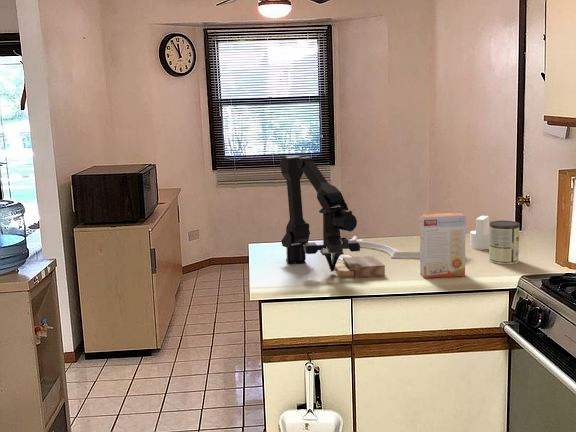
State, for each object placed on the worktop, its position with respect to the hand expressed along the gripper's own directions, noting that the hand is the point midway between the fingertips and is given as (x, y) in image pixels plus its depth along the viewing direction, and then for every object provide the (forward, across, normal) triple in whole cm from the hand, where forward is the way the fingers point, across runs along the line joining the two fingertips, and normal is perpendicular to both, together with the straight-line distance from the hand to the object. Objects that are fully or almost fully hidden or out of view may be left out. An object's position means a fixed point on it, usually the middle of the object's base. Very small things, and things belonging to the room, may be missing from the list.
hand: (332, 271), depth 213 cm
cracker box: (+1, +36, -10) cm, 37 cm away
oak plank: (+1, +4, +1) cm, 5 cm away
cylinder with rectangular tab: (+1, +66, +25) cm, 71 cm away
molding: (+2, +28, +32) cm, 42 cm away
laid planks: (+1, +12, 0) cm, 12 cm away
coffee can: (+1, +64, +2) cm, 64 cm away
